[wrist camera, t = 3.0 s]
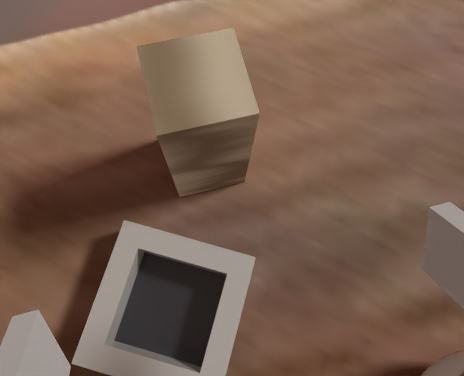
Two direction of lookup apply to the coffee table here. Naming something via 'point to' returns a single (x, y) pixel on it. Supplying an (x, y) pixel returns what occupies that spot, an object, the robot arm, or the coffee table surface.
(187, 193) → the maple block
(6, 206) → the coffee table surface
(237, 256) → the stone well
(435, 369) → the lidded jar
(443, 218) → the robot arm
